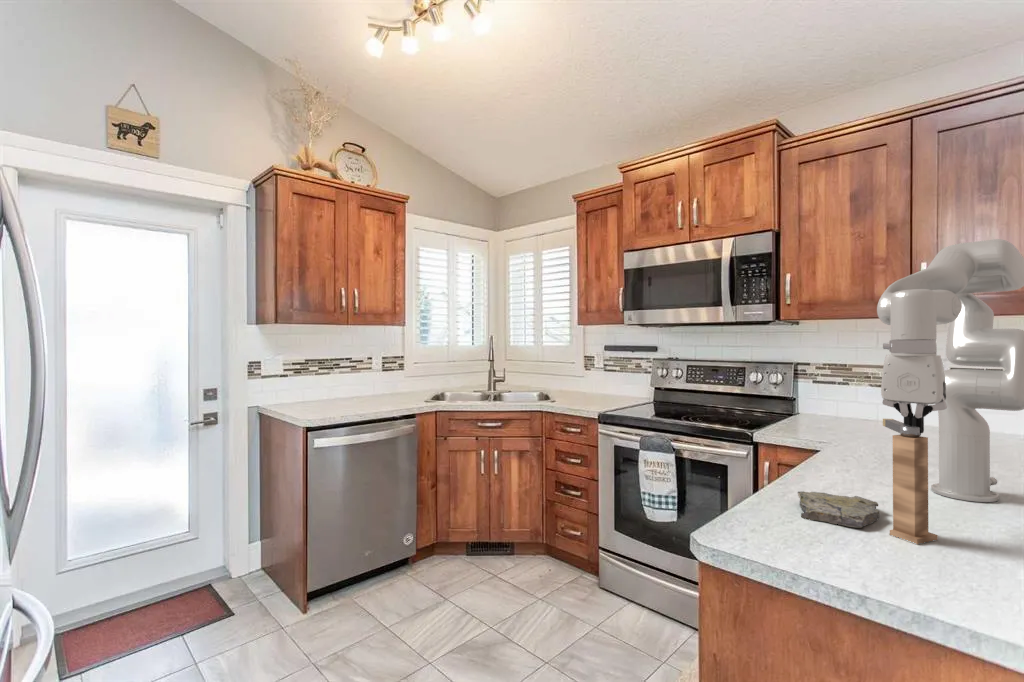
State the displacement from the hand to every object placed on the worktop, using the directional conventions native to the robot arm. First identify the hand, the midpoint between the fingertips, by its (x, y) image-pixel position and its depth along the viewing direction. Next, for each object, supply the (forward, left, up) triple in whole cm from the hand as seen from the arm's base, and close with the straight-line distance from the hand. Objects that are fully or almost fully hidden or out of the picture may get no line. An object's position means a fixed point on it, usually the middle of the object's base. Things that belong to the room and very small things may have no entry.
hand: (913, 435), depth 105 cm
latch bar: (+3, -1, +1) cm, 4 cm away
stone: (+9, -10, -20) cm, 24 cm away
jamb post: (+7, +3, -19) cm, 21 cm away
